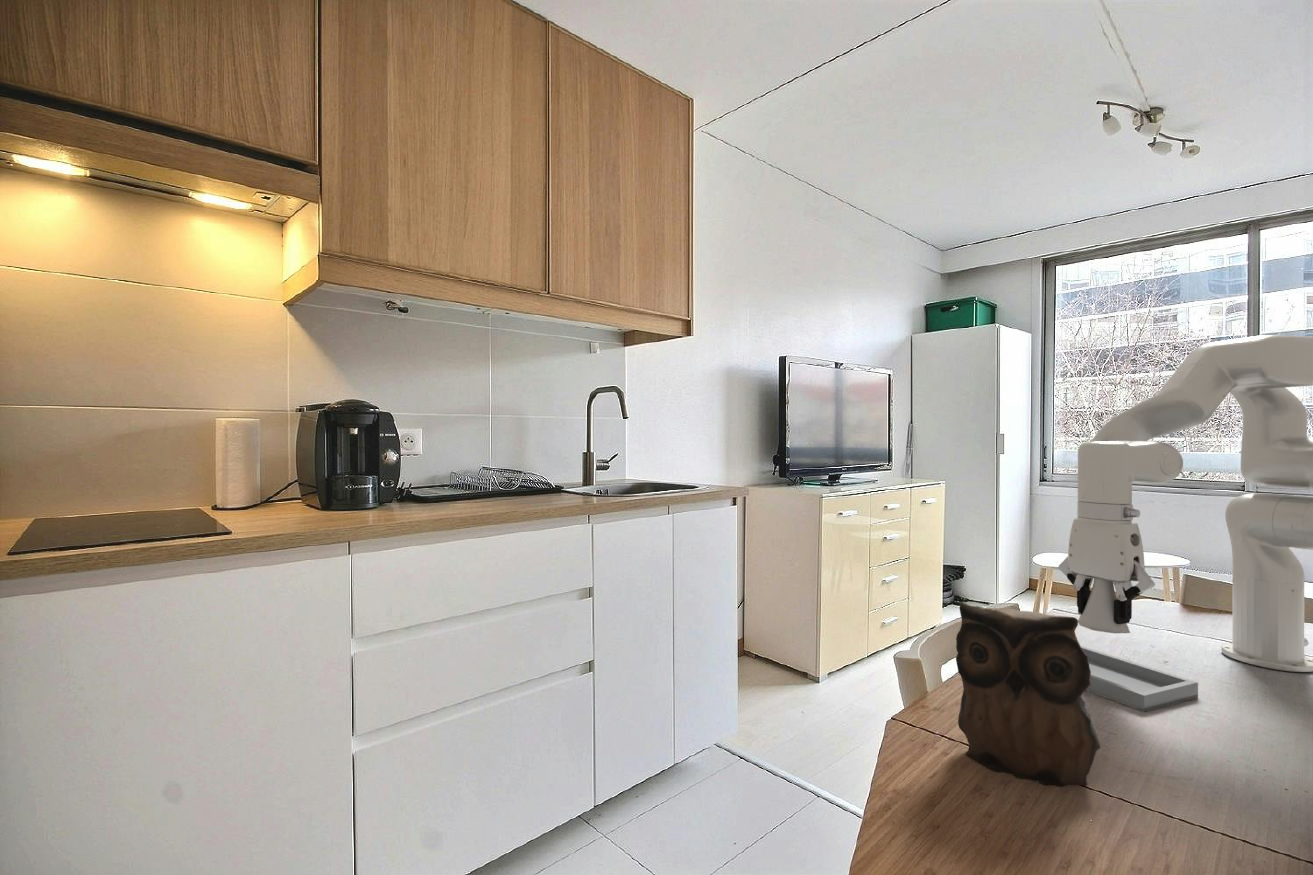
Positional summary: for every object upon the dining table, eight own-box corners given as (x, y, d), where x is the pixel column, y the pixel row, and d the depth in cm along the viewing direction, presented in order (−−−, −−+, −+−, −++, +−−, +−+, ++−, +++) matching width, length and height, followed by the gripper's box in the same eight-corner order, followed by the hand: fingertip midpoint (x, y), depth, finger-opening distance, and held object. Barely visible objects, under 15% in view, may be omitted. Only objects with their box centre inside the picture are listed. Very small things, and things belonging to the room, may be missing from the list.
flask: (1139, 636, 98) (1140, 576, 98) (1090, 633, 99) (1090, 573, 99) (1115, 623, 105) (1115, 567, 105) (1069, 620, 106) (1069, 565, 106)
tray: (1071, 655, 114) (1071, 642, 114) (1197, 697, 95) (1197, 682, 95) (1020, 665, 109) (1020, 651, 109) (1144, 711, 90) (1144, 695, 90)
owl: (1105, 791, 70) (1105, 620, 70) (1003, 795, 68) (1004, 622, 69) (1028, 737, 82) (1029, 593, 82) (941, 740, 81) (942, 594, 81)
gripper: (1175, 518, 96) (1174, 630, 96) (1068, 507, 112) (1067, 603, 111) (1146, 519, 93) (1146, 635, 93) (1040, 508, 109) (1040, 607, 109)
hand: (1103, 616), depth 102 cm, fingers closed on flask, 5 cm apart
